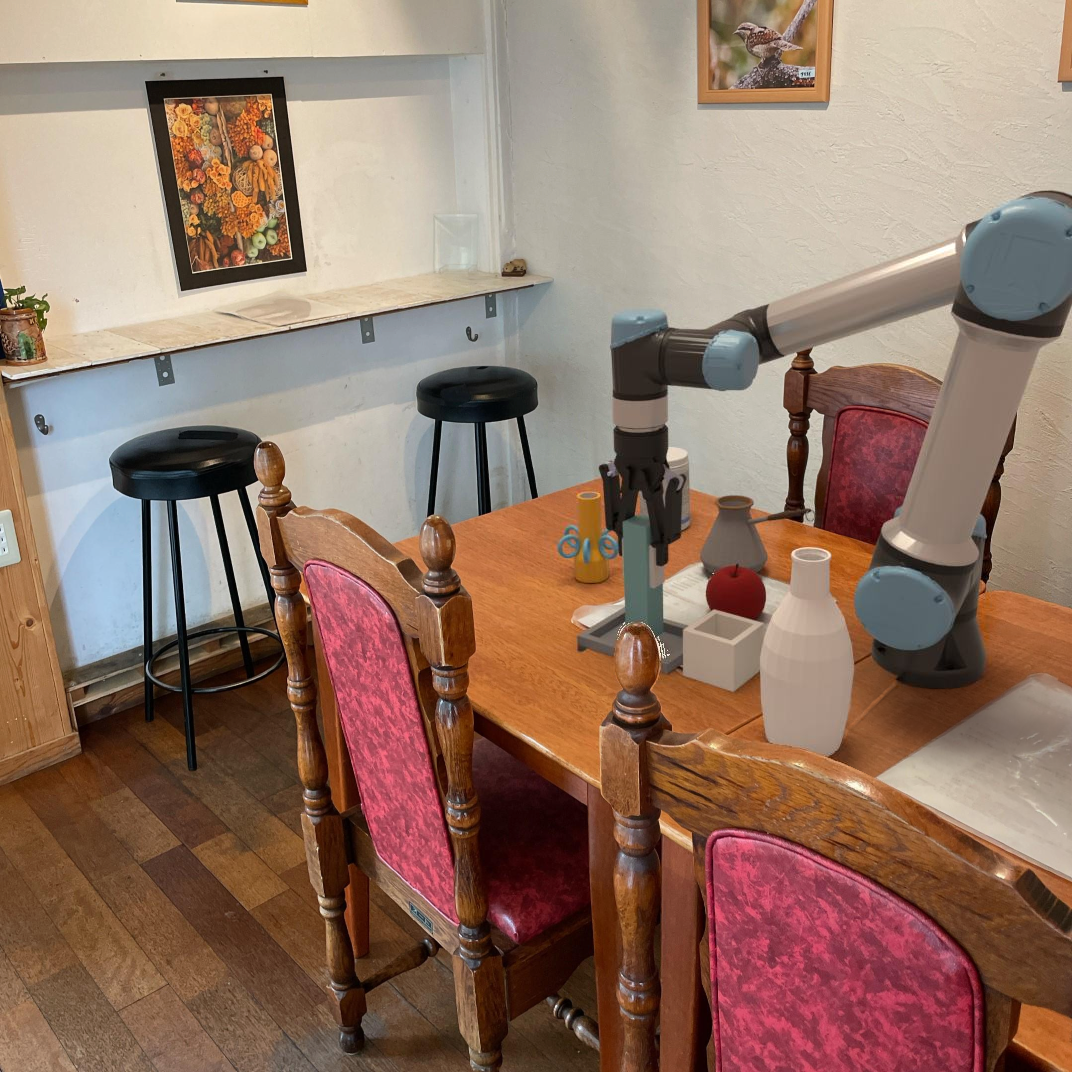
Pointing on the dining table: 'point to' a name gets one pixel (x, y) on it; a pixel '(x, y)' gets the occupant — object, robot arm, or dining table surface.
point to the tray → (606, 632)
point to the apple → (736, 592)
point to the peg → (640, 576)
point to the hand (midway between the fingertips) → (643, 580)
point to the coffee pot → (738, 535)
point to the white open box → (722, 649)
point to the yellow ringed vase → (589, 541)
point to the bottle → (807, 661)
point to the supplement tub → (680, 465)
